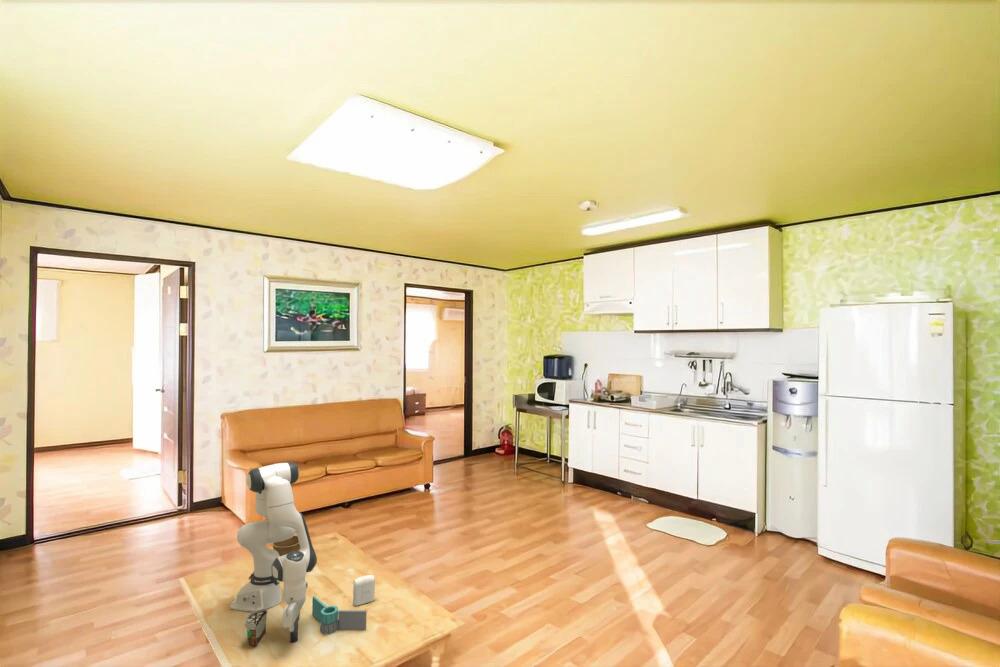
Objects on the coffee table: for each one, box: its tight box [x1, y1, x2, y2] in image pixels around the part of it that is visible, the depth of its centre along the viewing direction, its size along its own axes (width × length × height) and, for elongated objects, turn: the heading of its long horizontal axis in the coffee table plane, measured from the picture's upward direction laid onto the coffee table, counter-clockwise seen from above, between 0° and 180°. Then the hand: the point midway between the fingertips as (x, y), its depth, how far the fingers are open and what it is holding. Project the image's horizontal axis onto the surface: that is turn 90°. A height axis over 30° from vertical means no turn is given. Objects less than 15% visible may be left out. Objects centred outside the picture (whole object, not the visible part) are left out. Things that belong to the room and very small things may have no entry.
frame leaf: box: [320, 609, 367, 635], centre depth 210 cm, size 20×7×8 cm, turn 90°
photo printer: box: [352, 574, 376, 607], centre depth 232 cm, size 10×4×12 cm, turn 123°
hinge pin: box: [289, 616, 299, 644], centre depth 202 cm, size 3×3×12 cm
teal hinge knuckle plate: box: [311, 595, 339, 624], centre depth 214 cm, size 20×7×8 cm, turn 45°
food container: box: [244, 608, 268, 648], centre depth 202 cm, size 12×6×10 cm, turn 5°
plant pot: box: [272, 535, 300, 556], centre depth 263 cm, size 15×15×16 cm
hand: (294, 625), depth 202 cm, fingers open, 5 cm apart
